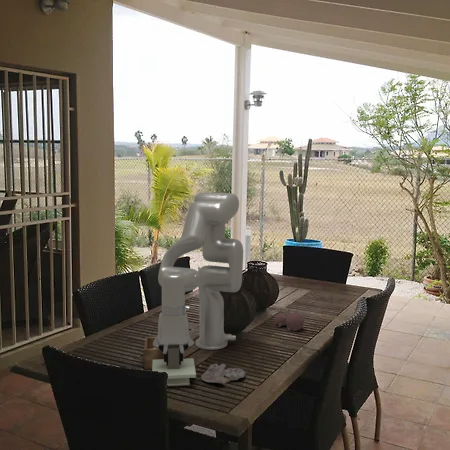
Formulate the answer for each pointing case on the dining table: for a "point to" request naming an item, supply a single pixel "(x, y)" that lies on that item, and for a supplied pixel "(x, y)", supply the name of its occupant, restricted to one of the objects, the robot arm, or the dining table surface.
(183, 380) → the stone tile
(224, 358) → the dining table surface
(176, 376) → the lid
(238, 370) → the fossil
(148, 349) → the walnut box
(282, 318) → the toy
